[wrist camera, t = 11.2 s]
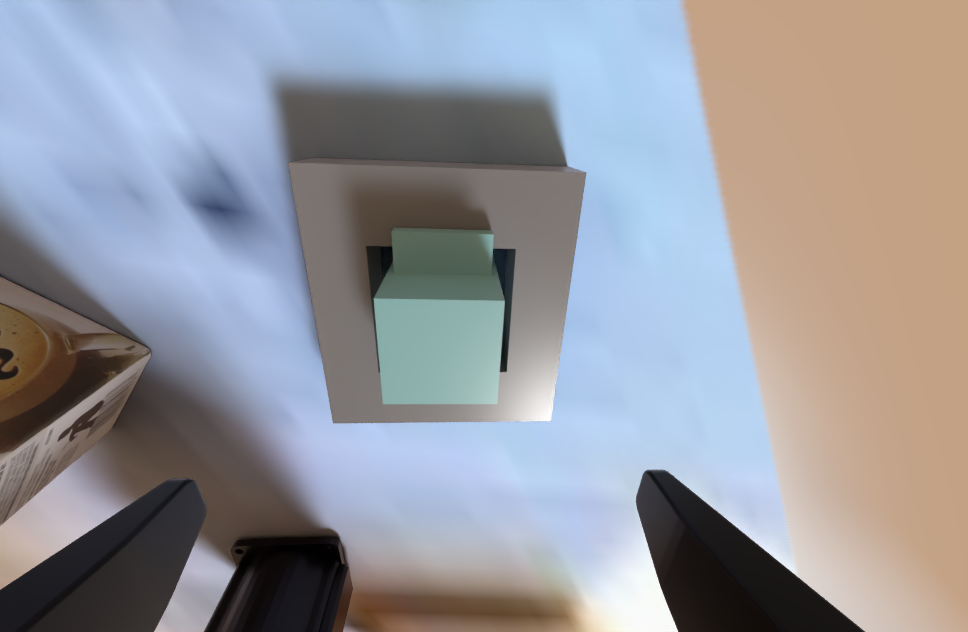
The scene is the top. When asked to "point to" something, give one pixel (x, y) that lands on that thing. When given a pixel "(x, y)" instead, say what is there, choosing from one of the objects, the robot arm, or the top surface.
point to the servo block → (440, 318)
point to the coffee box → (55, 389)
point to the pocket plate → (437, 205)
